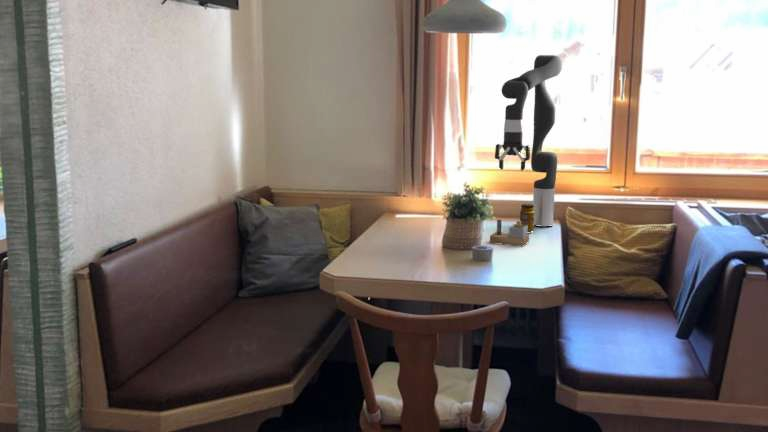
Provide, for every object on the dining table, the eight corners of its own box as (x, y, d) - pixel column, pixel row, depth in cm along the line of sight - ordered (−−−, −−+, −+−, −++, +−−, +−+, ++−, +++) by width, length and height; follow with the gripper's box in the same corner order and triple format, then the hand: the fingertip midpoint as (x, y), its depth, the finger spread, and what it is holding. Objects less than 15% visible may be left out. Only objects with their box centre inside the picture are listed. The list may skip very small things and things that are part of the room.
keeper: (495, 238, 331) (496, 217, 330) (529, 241, 326) (530, 220, 325) (489, 243, 323) (490, 221, 322) (524, 246, 318) (525, 223, 316)
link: (513, 233, 328) (514, 223, 327) (527, 234, 326) (527, 225, 325) (509, 237, 320) (509, 227, 320) (522, 238, 318) (523, 228, 318)
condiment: (537, 232, 347) (538, 204, 344) (525, 234, 341) (527, 207, 339) (523, 229, 352) (525, 202, 350) (512, 232, 346) (513, 204, 344)
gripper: (532, 130, 330) (530, 169, 333) (498, 129, 335) (497, 168, 338) (528, 131, 323) (526, 171, 326) (494, 130, 328) (492, 169, 331)
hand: (511, 169), depth 332 cm, fingers open, 8 cm apart
